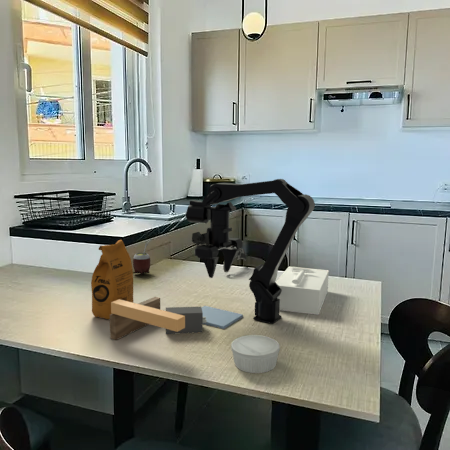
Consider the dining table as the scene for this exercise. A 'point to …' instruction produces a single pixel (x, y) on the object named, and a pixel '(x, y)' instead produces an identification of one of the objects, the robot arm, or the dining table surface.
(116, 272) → the coffee package
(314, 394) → the dining table surface
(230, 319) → the pad
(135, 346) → the dining table surface
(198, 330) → the charcoal wedge block
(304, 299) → the tissue box
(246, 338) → the ramekin
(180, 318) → the tan wooden bar
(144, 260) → the mate gourd
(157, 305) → the rail
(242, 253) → the grey curved piece
